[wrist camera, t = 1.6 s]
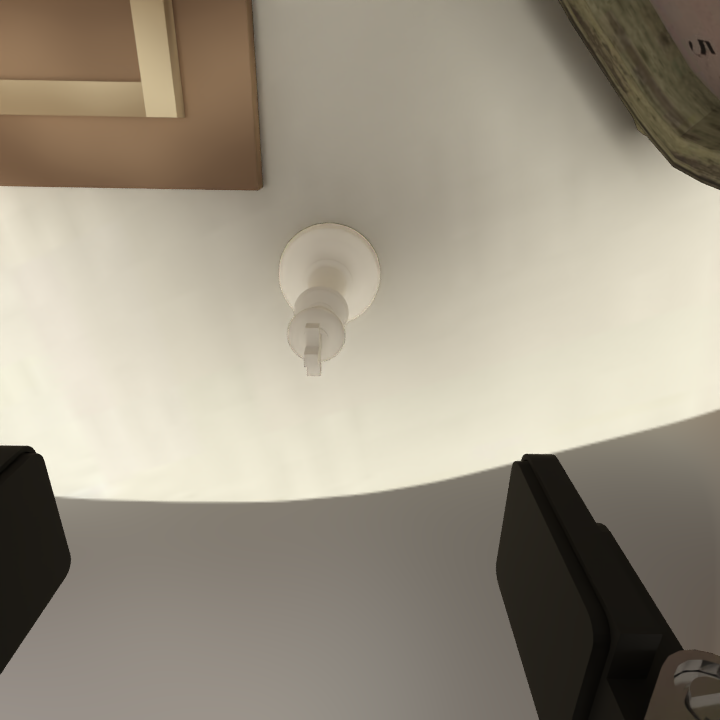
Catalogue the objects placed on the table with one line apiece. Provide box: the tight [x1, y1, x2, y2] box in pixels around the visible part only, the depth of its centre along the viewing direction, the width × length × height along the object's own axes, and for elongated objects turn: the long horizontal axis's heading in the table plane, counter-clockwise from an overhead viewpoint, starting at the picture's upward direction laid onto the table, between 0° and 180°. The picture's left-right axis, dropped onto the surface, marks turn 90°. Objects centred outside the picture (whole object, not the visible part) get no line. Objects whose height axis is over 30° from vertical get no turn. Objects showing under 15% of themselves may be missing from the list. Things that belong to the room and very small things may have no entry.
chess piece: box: [279, 223, 380, 376], centre depth 21 cm, size 5×5×10 cm
